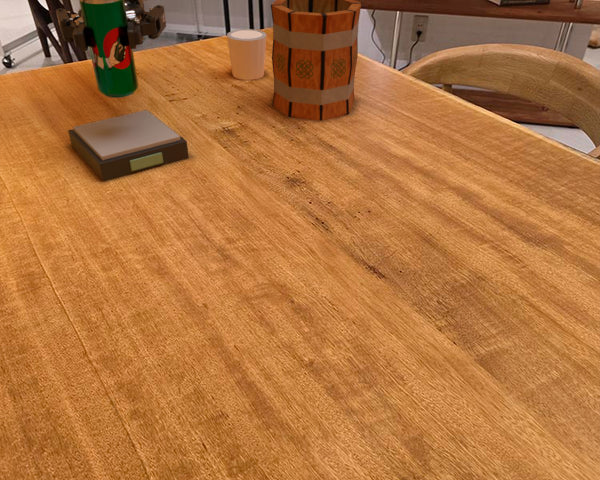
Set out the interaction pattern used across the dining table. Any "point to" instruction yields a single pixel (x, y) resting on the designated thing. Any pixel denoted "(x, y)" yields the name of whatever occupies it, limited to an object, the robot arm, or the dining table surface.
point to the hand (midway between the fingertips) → (107, 41)
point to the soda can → (110, 46)
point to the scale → (127, 144)
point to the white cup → (247, 53)
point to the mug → (314, 57)
